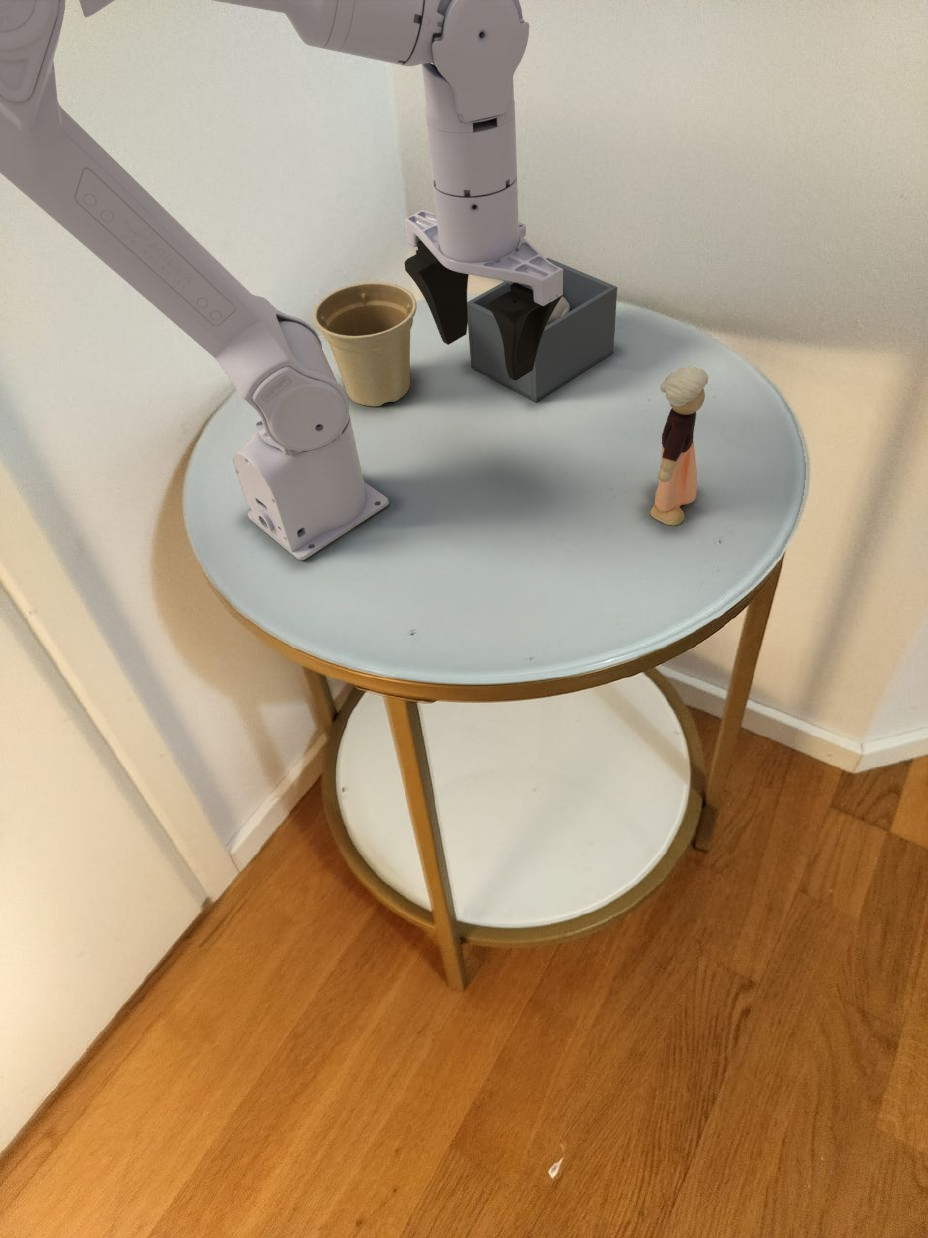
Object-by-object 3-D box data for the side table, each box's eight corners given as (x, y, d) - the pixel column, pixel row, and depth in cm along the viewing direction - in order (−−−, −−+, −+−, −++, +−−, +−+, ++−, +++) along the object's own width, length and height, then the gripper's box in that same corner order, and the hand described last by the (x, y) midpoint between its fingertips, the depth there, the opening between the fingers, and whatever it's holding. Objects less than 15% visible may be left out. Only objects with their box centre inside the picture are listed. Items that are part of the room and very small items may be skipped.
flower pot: (424, 415, 81) (413, 333, 75) (325, 420, 82) (306, 339, 76) (428, 359, 88) (419, 278, 81) (337, 364, 88) (320, 284, 82)
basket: (536, 403, 81) (535, 336, 76) (452, 357, 87) (446, 292, 82) (613, 352, 86) (617, 286, 81) (529, 312, 92) (527, 248, 87)
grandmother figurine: (695, 535, 68) (719, 401, 59) (646, 533, 69) (661, 399, 60) (694, 472, 73) (716, 339, 64) (648, 470, 74) (663, 338, 64)
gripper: (595, 185, 56) (589, 366, 67) (446, 133, 64) (462, 304, 74) (519, 226, 53) (525, 409, 64) (373, 167, 61) (399, 339, 71)
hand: (487, 355), depth 69 cm, fingers open, 7 cm apart
